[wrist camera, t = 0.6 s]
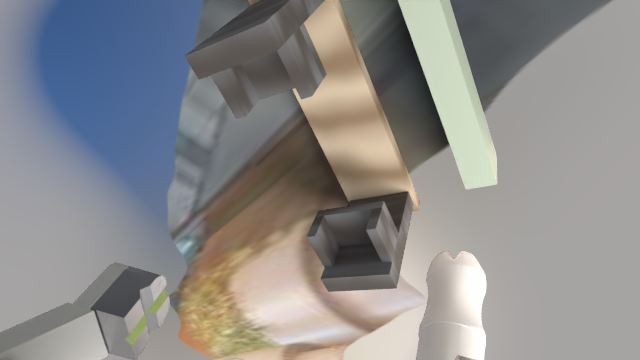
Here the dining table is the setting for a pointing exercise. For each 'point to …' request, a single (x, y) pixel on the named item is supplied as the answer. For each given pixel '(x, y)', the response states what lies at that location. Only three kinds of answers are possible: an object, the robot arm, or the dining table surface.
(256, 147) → the dining table surface
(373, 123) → the rail stand
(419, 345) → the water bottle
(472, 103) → the rail
